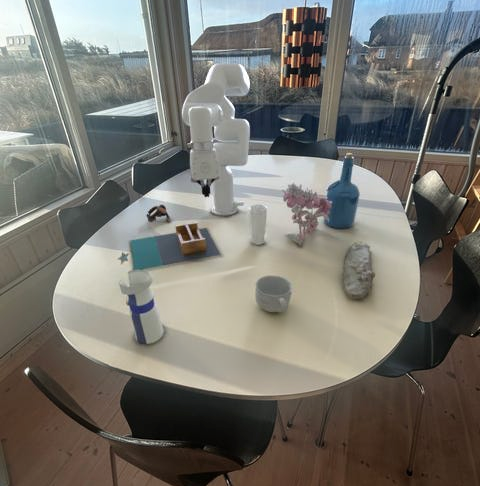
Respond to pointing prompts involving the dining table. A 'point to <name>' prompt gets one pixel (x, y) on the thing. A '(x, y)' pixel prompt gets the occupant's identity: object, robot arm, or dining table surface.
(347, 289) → the long grey stone
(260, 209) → the drinking glass
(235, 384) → the dining table surface
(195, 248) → the rack
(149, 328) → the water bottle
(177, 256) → the mat
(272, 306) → the teacup
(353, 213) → the wine bottle
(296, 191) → the flower
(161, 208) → the pottery mug
